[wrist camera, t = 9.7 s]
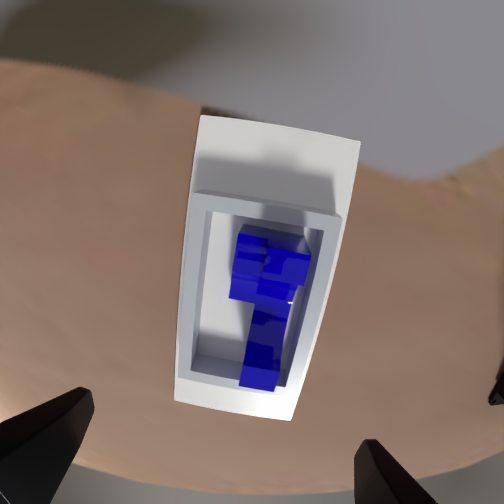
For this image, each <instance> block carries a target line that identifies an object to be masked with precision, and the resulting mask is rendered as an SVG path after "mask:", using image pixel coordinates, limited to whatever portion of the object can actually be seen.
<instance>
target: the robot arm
mask: <svg viewBox="0 0 504 504" xmlns="http://www.w3.org/2000/svg"><path fill="white" fill-rule="evenodd" d="M488 403H489V404H490V405H491V406H492V405H500V404H504V374H503V376H502V378H501V380H500V382H499V383H498V385H497V387H496V389H495V390H494V392H493V394H492V395H491V397H490V399H489V401H488ZM93 413H94V402H93V397H92V392H91V391H90V390H89V389H86V388H83V387H77V388H75V389H73V390H71V391H69V392H67V393H65V394H62V395H60V396H58V397H56V398H54V399H52V400H50V401H47V402H45V403H43V404H41V405H39V406H36V407H34V408H32V409H30V410H28V411H25V412H23V413H21V414H19V415H16V416H14V417H12V418H10V419H7V420H5V421H3V422H1V423H0V504H50V503H51V501H52V499H53V497H54V495H55V493H56V491H57V489H58V487H59V485H60V483H61V481H62V479H63V477H64V476H65V474H66V472H67V470H68V468H69V466H70V464H71V463H72V461H73V459H74V457H75V455H76V453H77V452H78V450H79V448H80V445H81V443H82V441H83V438H84V436H85V433H86V431H87V428H88V426H89V423H90V421H91V418H92V416H93ZM354 496H355V504H438V503H436V501H435V500H434V499H433V498H432V497H431V496H430V495H429V494H428V493H427V492H426V491H425V490H424V489H423V488H422V487H421V486H420V485H419V484H418V483H417V481H416V480H415V479H414V478H413V477H412V476H411V475H410V474H409V473H408V472H407V471H406V470H405V469H404V468H403V467H402V466H401V465H400V464H399V463H398V462H397V461H396V460H395V459H394V457H393V456H392V455H391V454H390V453H389V452H388V451H387V450H386V449H385V448H384V447H383V446H382V445H381V444H380V443H379V442H378V441H377V440H376V439H365V440H364V441H363V442H362V444H361V445H360V447H359V449H358V450H357V452H356V454H355V457H354Z"/></svg>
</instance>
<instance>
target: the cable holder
mask: <svg viewBox="0 0 504 504" xmlns="http://www.w3.org/2000/svg"><path fill="white" fill-rule="evenodd" d="M311 257H312V255H311V252H310V249H309V246H308V244H307V241H306V238H305V236H304V235H299V234H294V233H289V232H284V231H279V230H274V229H269V228H264V227H259V226H254V225H249V224H243V225H242V227H241V229H240V231H239V233H238V238H237V243H236V249H235V255H234V261H233V266H232V276H231V285H230V292H229V298H230V299H234V300H239V301H244V302H249V303H254V308H253V313H252V317H251V322H250V327H249V332H248V336H247V341H246V346H245V351H244V357H243V362H242V368H241V373H240V379H239V384H238V386H241V387H246V388H252V389H257V390H263V391H269V392H274V391H275V387H276V384H277V381H278V378H279V374H280V365H281V355H282V348H283V341H284V336H285V330H286V326H287V321H288V317H289V313H290V309H291V305H292V302H293V298H294V295H295V293H296V290H297V288H298V286H304V285H305V281H306V277H307V273H308V269H309V265H310V261H311Z"/></svg>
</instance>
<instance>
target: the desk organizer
mask: <svg viewBox="0 0 504 504" xmlns="http://www.w3.org/2000/svg"><path fill="white" fill-rule="evenodd" d="M360 144H361V142H360V141H356V140H351V139H347V138H343V137H339V136H334V135H329V134H325V133H320V132H315V131H310V130H305V129H299V128H294V127H288V126H282V125H276V124H270V123H264V122H257V121H250V120H242V119H234V118H226V117H217V116H207V115H201V116H200V122H199V128H198V135H197V141H196V148H195V155H194V162H193V169H192V176H191V184H190V192H189V200H188V208H187V217H186V226H185V236H184V246H183V256H182V267H181V279H180V292H179V306H178V322H177V340H176V362H175V395H174V400H176V401H180V402H185V403H189V404H193V405H198V406H203V407H207V408H212V409H217V410H223V411H228V412H234V413H239V414H246V415H252V416H259V417H266V418H273V419H281V420H291V418H292V415H293V412H294V409H295V406H296V403H297V400H298V397H299V394H300V391H301V388H302V385H303V382H304V379H305V376H306V372H307V369H308V366H309V363H310V359H311V356H312V353H313V349H314V346H315V343H316V339H317V336H318V332H319V329H320V325H321V322H322V318H323V314H324V311H325V307H326V303H327V299H328V296H329V292H330V288H331V284H332V280H333V276H334V272H335V268H336V264H337V259H338V255H339V251H340V247H341V242H342V238H343V233H344V229H345V224H346V219H347V214H348V210H349V205H350V200H351V195H352V189H353V184H354V179H355V173H356V168H357V162H358V156H359V150H360ZM243 224H249V225H254V226H259V227H264V228H269V229H274V230H279V231H284V232H289V233H294V234H299V235H304V236H305V238H306V241H307V244H308V246H309V249H310V252H311V255H312V257H311V261H310V265H309V269H308V273H307V277H306V281H305V285H304V286H298V288H297V290H296V293H295V295H294V298H293V302H292V305H291V309H290V313H289V317H288V321H287V326H286V330H285V336H284V341H283V348H282V355H281V365H280V374H279V378H278V381H277V384H276V387H275V391H274V392H269V391H263V390H257V389H252V388H246V387H241V386H238V384H239V379H240V373H241V368H242V362H243V357H244V351H245V346H246V341H247V336H248V332H249V327H250V322H251V317H252V313H253V308H254V303H249V302H244V301H239V300H234V299H230V298H229V292H230V285H231V276H232V266H233V261H234V255H235V249H236V243H237V238H238V233H239V231H240V229H241V227H242V225H243Z"/></svg>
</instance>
